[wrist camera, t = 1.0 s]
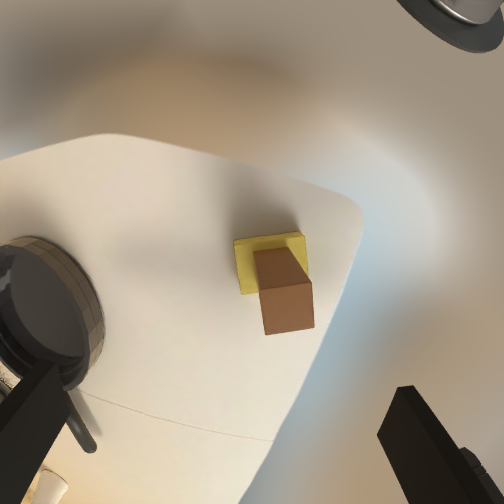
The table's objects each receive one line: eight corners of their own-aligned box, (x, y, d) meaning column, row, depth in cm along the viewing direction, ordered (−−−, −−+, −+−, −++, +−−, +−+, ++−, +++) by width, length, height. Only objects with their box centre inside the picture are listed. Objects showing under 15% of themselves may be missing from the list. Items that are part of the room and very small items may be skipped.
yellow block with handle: (300, 231, 28) (336, 265, 17) (304, 278, 29) (338, 334, 18) (234, 240, 28) (230, 280, 17) (241, 287, 29) (242, 349, 18)
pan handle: (63, 375, 29) (55, 386, 27) (101, 446, 32) (96, 457, 30) (49, 374, 29) (41, 384, 27) (88, 444, 32) (83, 455, 30)
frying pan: (82, 223, 27) (60, 231, 23) (124, 373, 31) (113, 395, 27) (-20, 248, 27) (-42, 257, 23) (21, 369, 31) (6, 386, 27)
